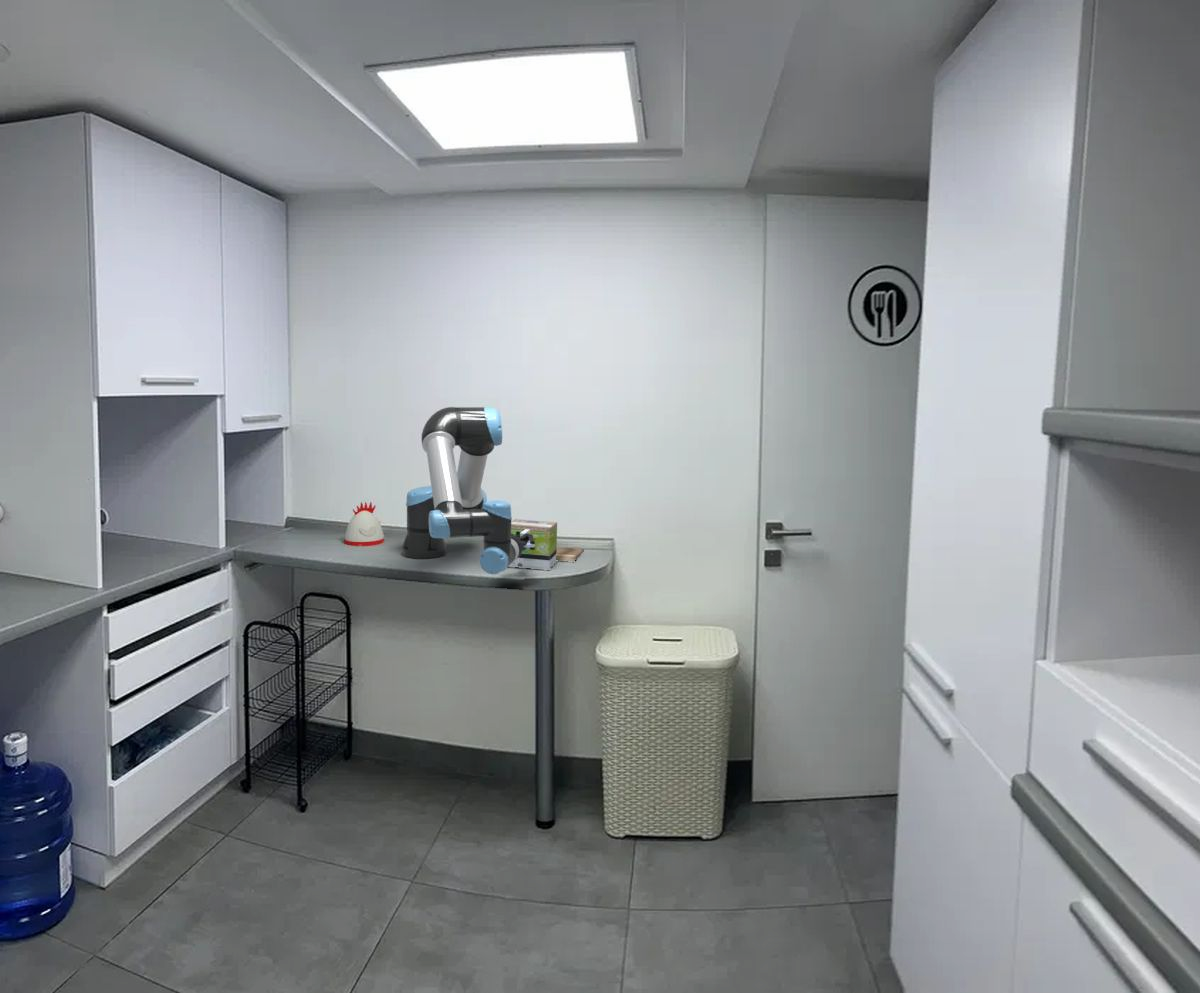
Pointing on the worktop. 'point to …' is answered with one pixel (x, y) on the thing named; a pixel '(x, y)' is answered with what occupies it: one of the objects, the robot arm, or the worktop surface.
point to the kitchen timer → (364, 528)
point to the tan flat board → (568, 554)
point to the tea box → (537, 544)
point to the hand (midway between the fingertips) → (527, 533)
